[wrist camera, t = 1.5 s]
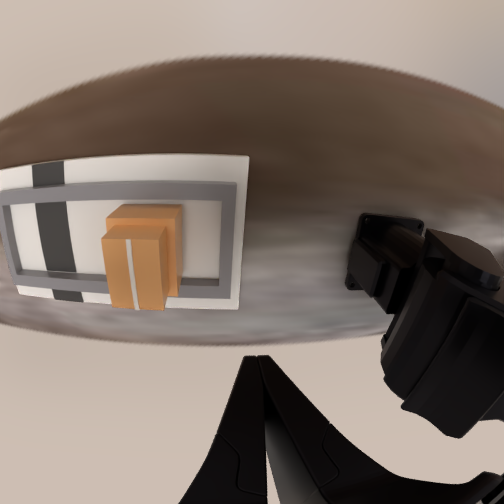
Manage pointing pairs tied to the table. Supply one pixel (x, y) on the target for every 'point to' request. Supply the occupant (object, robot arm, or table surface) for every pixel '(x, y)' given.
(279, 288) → the table surface
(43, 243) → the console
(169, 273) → the fader knob
